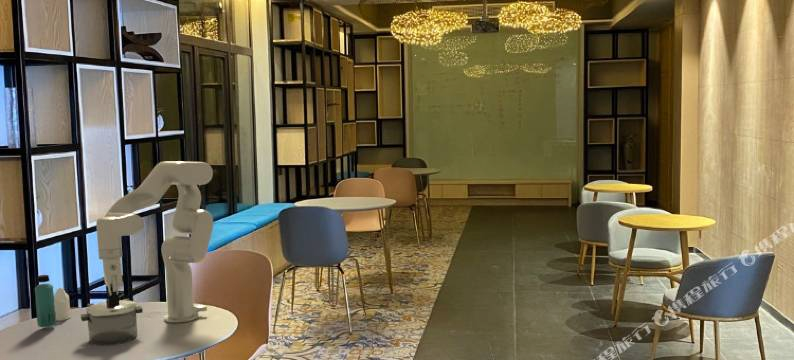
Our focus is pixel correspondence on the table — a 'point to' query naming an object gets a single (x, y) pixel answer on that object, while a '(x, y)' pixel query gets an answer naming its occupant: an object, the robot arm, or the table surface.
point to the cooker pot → (112, 327)
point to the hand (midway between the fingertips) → (114, 305)
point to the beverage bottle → (45, 303)
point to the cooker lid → (111, 308)
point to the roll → (62, 305)
